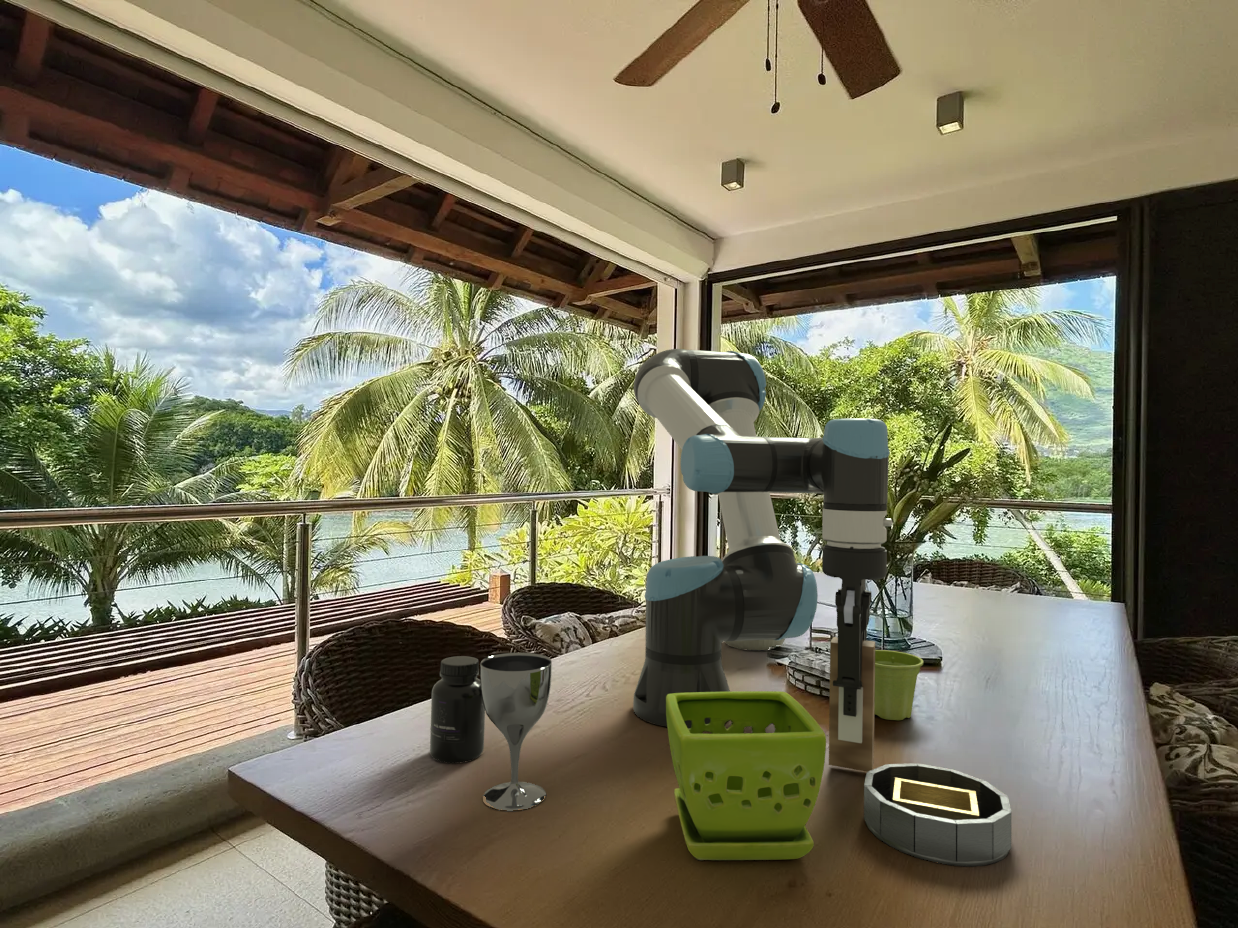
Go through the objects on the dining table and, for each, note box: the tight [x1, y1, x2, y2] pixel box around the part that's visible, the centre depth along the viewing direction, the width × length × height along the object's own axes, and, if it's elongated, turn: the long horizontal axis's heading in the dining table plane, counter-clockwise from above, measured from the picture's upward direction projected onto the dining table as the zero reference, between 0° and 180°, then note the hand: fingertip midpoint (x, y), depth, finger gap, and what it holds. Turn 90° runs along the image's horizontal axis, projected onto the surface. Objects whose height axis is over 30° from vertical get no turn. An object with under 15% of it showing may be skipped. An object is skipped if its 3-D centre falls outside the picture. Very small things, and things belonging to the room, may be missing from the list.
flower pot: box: [666, 690, 827, 861], centre depth 70 cm, size 14×14×13 cm
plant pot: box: [874, 649, 924, 721], centre depth 107 cm, size 9×9×9 cm
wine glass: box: [479, 652, 553, 812], centre depth 78 cm, size 8×8×15 cm
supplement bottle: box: [429, 655, 486, 764], centre depth 90 cm, size 7×7×12 cm
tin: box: [863, 762, 1012, 867], centre depth 72 cm, size 14×14×4 cm
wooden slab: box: [828, 636, 876, 773], centre depth 86 cm, size 5×3×15 cm, turn 66°
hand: (851, 734), depth 86 cm, fingers closed on wooden slab, 3 cm apart
